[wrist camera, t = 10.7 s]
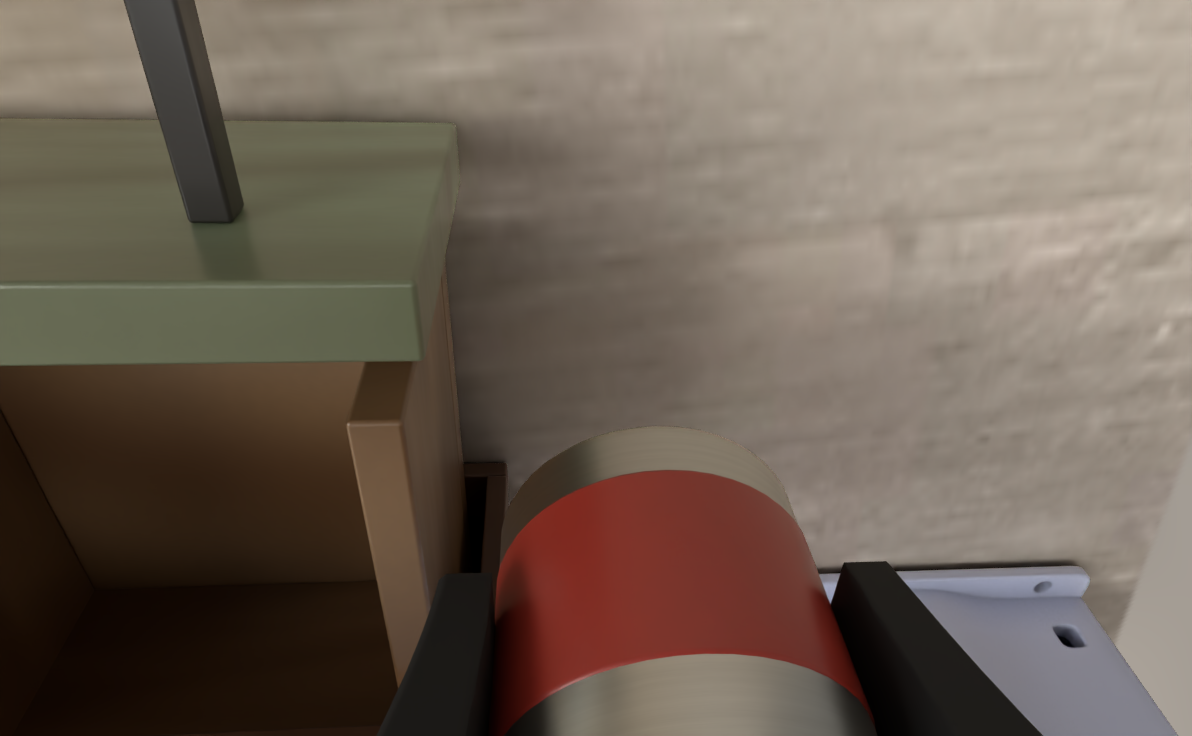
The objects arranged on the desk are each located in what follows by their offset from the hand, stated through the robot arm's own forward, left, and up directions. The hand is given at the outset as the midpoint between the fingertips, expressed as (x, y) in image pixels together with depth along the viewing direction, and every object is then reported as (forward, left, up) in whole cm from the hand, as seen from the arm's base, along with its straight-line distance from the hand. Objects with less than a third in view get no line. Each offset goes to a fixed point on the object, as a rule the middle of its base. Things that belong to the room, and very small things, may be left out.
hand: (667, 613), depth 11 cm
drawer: (+9, -1, -7) cm, 11 cm away
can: (0, +1, -2) cm, 2 cm away
